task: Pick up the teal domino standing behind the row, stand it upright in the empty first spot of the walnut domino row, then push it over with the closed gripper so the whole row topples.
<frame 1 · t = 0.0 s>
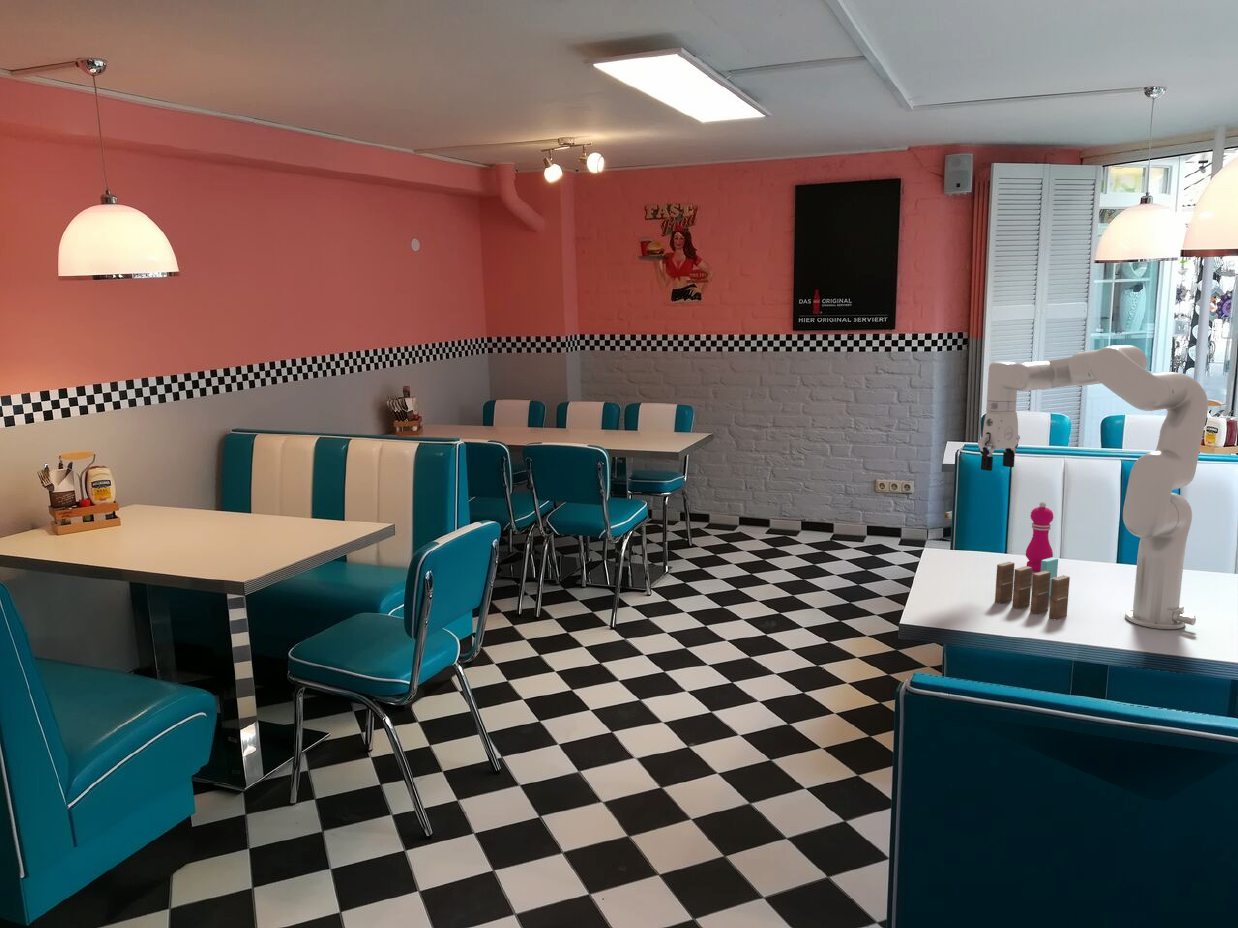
hand: (997, 468, 253), 31 cm above the table, tool pointing down, fingers open, 9 cm apart
domino 4: (1057, 616, 225), on the table
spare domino: (1047, 596, 241), on the table
domino 2: (1021, 606, 233), on the table
domino 1: (1003, 600, 237), on the table
domino 3: (1039, 611, 229), on the table
pepper mill: (1038, 569, 265), on the table
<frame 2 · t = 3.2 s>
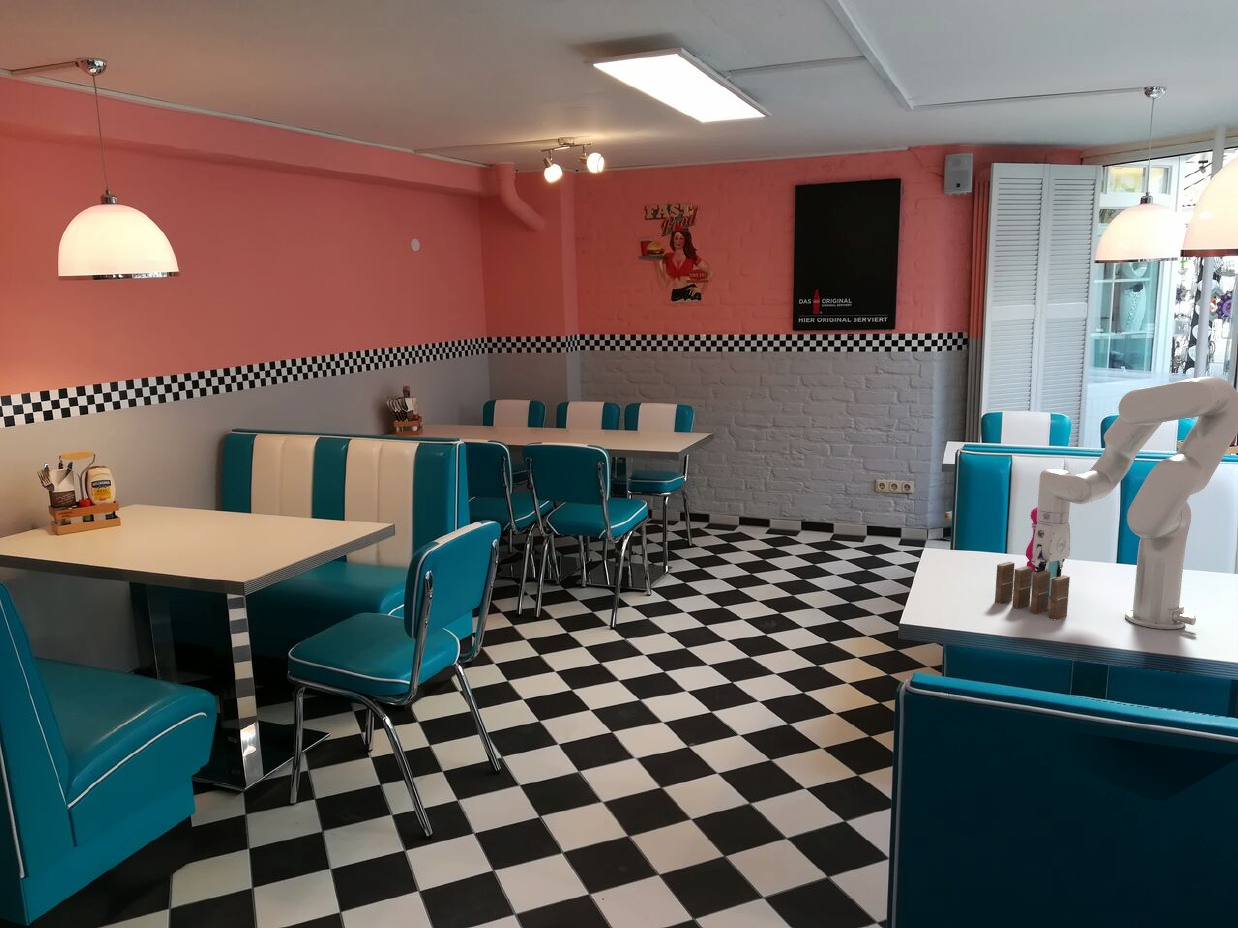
hand: (1047, 583, 240), 3 cm above the table, tool pointing down, fingers closed on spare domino, 4 cm apart
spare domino: (1047, 595, 241), on the table, touching gripper
everything else where it was.
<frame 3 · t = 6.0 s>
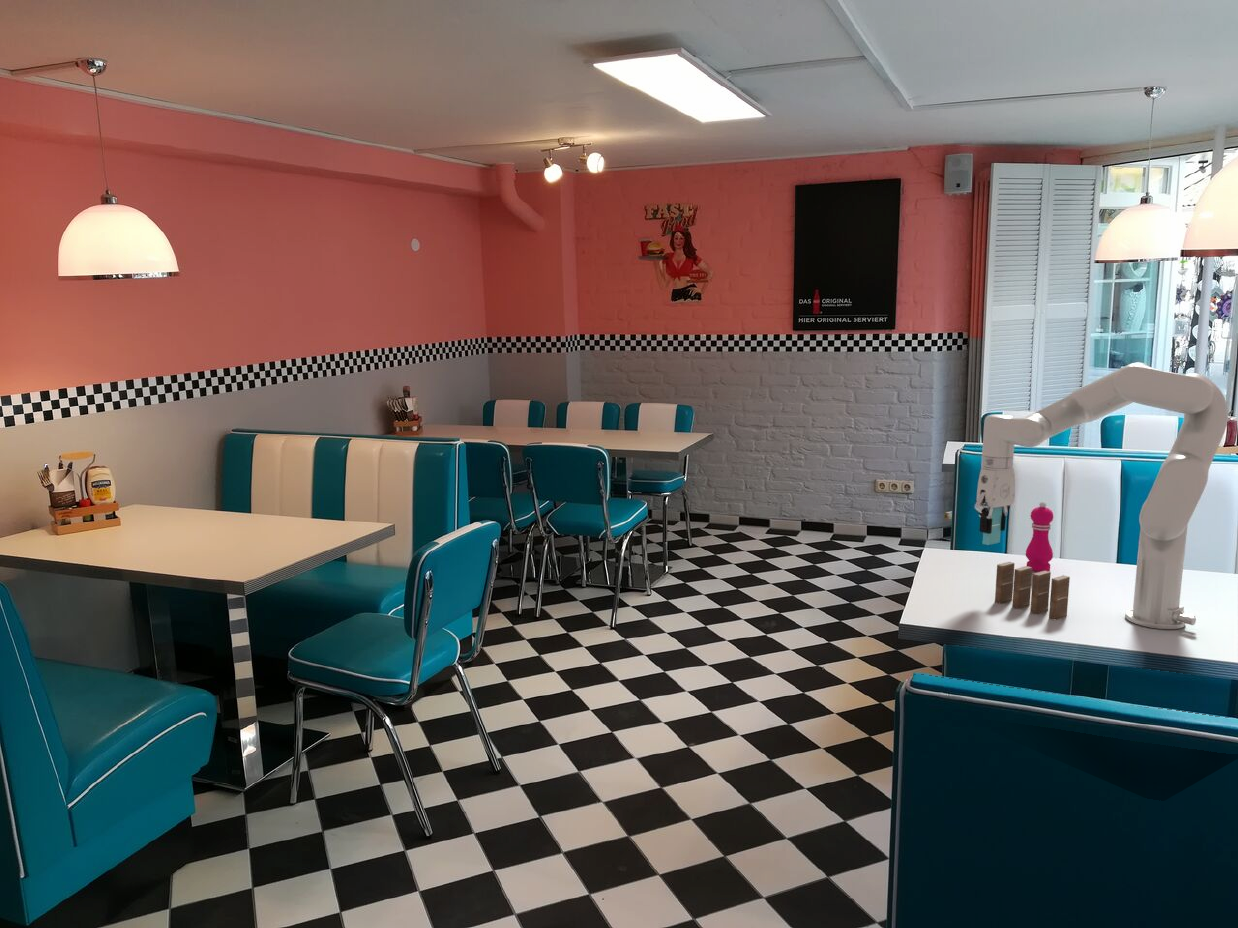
hand: (992, 530, 238), 18 cm above the table, tool pointing down, fingers closed on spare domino, 4 cm apart
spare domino: (991, 543, 239), point 14 cm above the table, touching gripper
everything else where it was.
when the fingers open (4 cm above the table, at t = 9.0 s): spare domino stays where it is, on the table.
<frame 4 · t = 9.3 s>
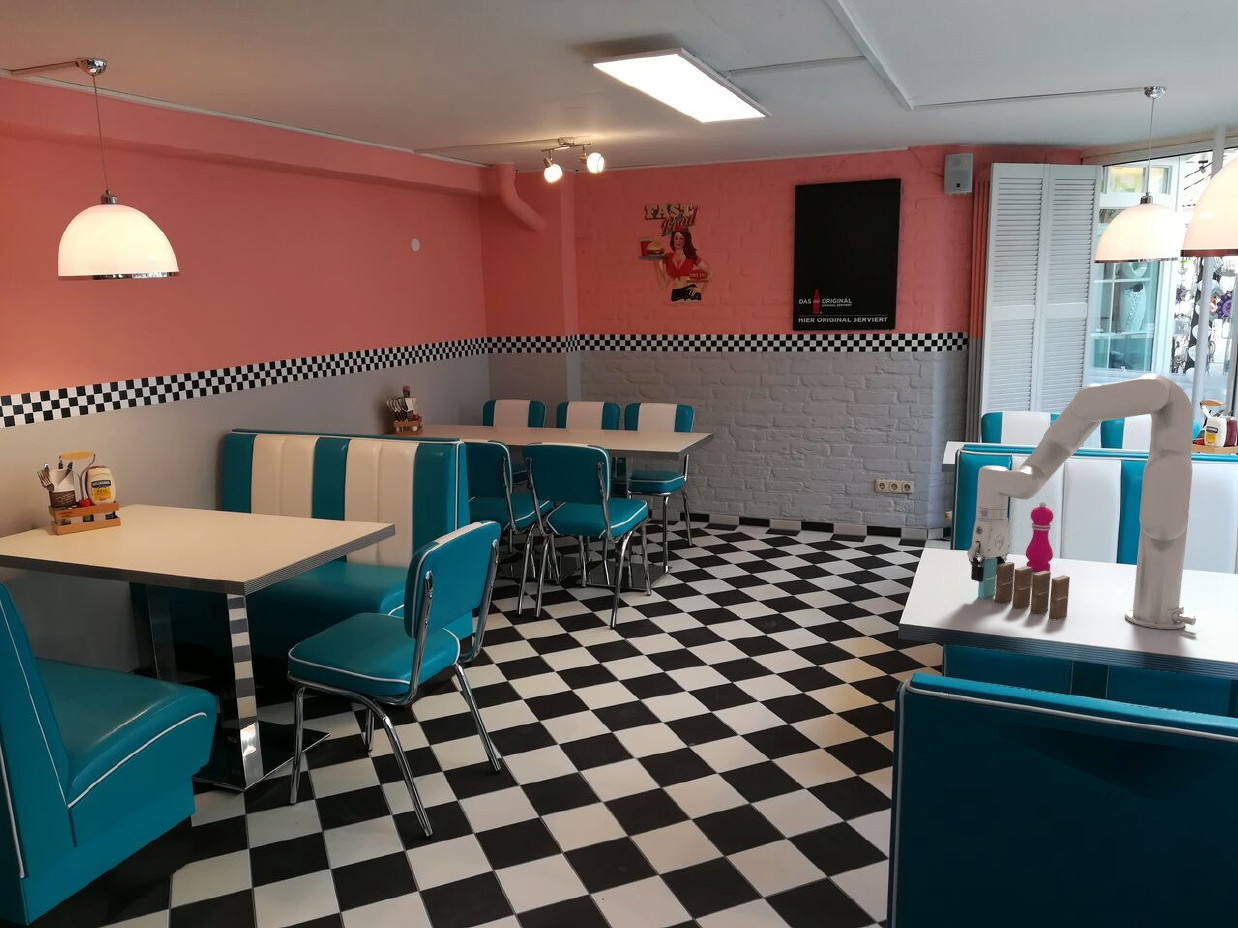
hand: (987, 577, 240), 5 cm above the table, tool pointing down, fingers open, 8 cm apart
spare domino: (986, 596, 241), on the table
everything else where it was.
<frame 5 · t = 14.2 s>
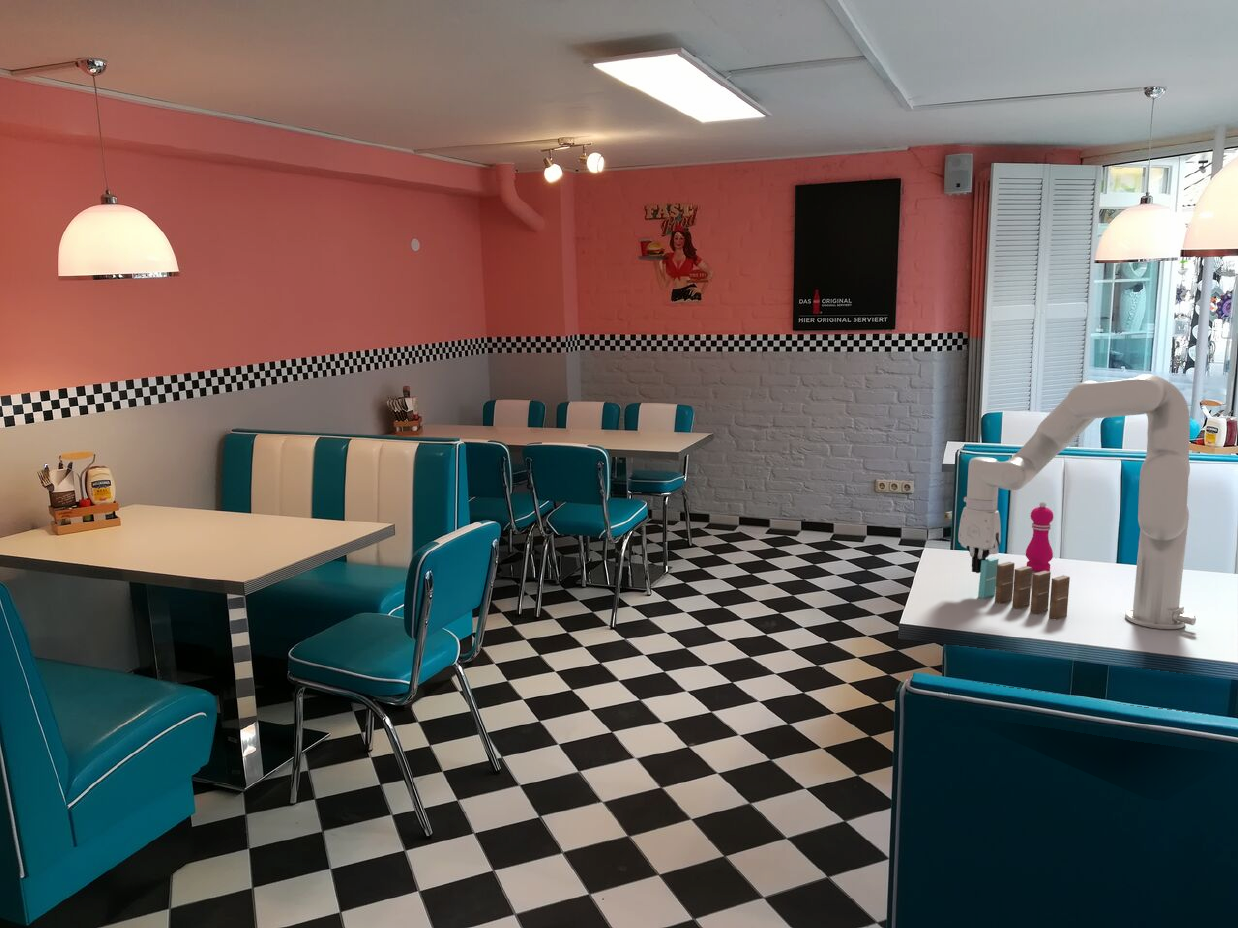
hand: (978, 571, 243), 6 cm above the table, tool pointing down, fingers closed
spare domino: (986, 595, 241), on the table, touching gripper
everything else where it was.
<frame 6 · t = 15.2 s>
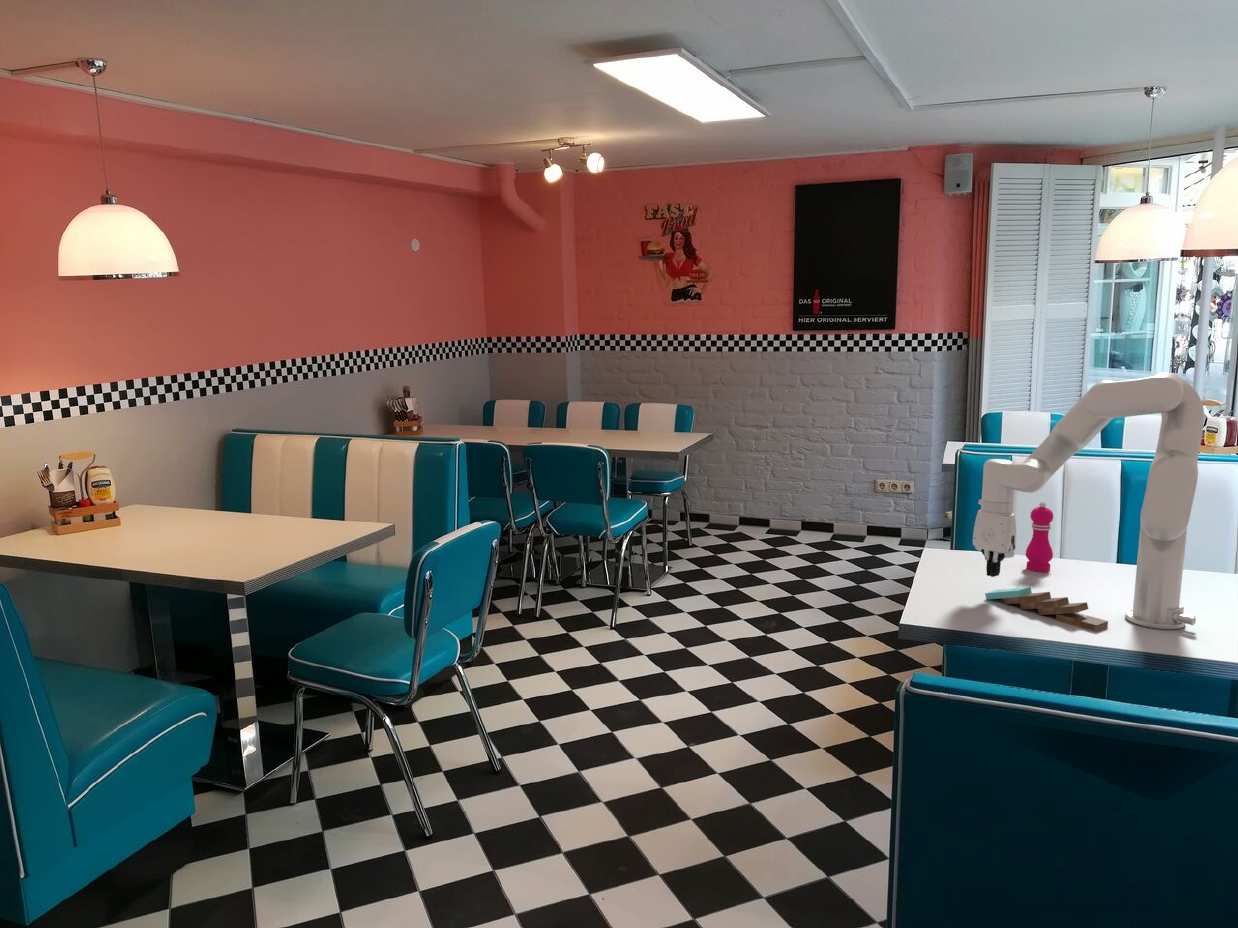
hand: (992, 575, 239), 6 cm above the table, tool pointing down, fingers closed
domino 4: (1061, 615, 224), point 1 cm above the table, tilted 90°
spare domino: (991, 594, 240), point 1 cm above the table, tilted 71°, touching domino 1
domino 2: (1026, 604, 232), point 1 cm above the table, tilted 71°, touching domino 1, domino 3
domino 1: (1009, 599, 236), point 1 cm above the table, tilted 71°, touching domino 2, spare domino
domino 3: (1044, 609, 228), point 1 cm above the table, tilted 71°, touching domino 2
everything else where it was.
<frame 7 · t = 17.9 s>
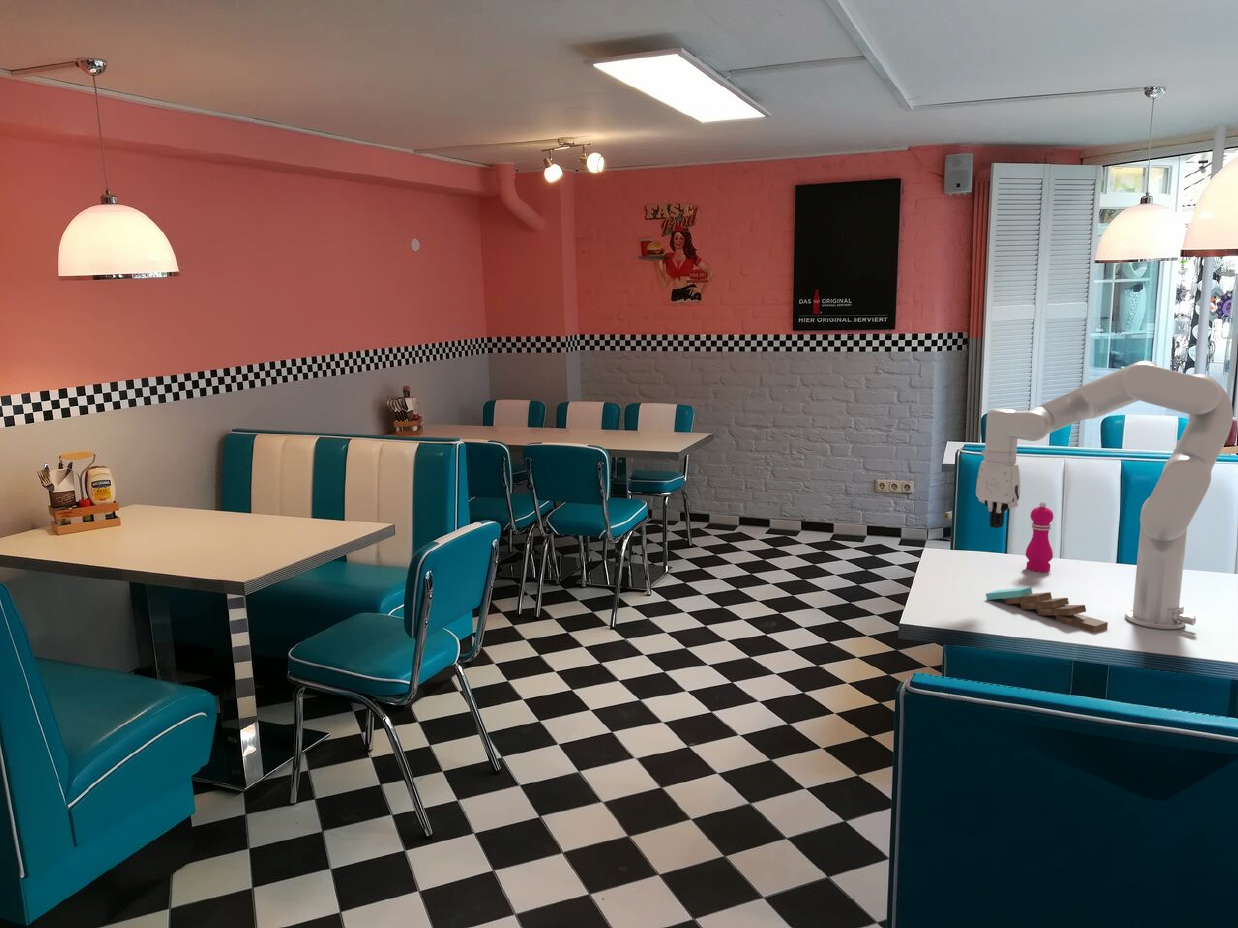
hand: (996, 526, 237), 19 cm above the table, tool pointing down, fingers closed
domino 4: (1062, 615, 223), point 1 cm above the table, tilted 89°, touching domino 3
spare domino: (992, 595, 240), point 1 cm above the table, tilted 71°
domino 1: (1011, 599, 236), point 1 cm above the table, tilted 70°, touching domino 2
domino 3: (1044, 610, 227), point 1 cm above the table, tilted 72°, touching domino 2, domino 4
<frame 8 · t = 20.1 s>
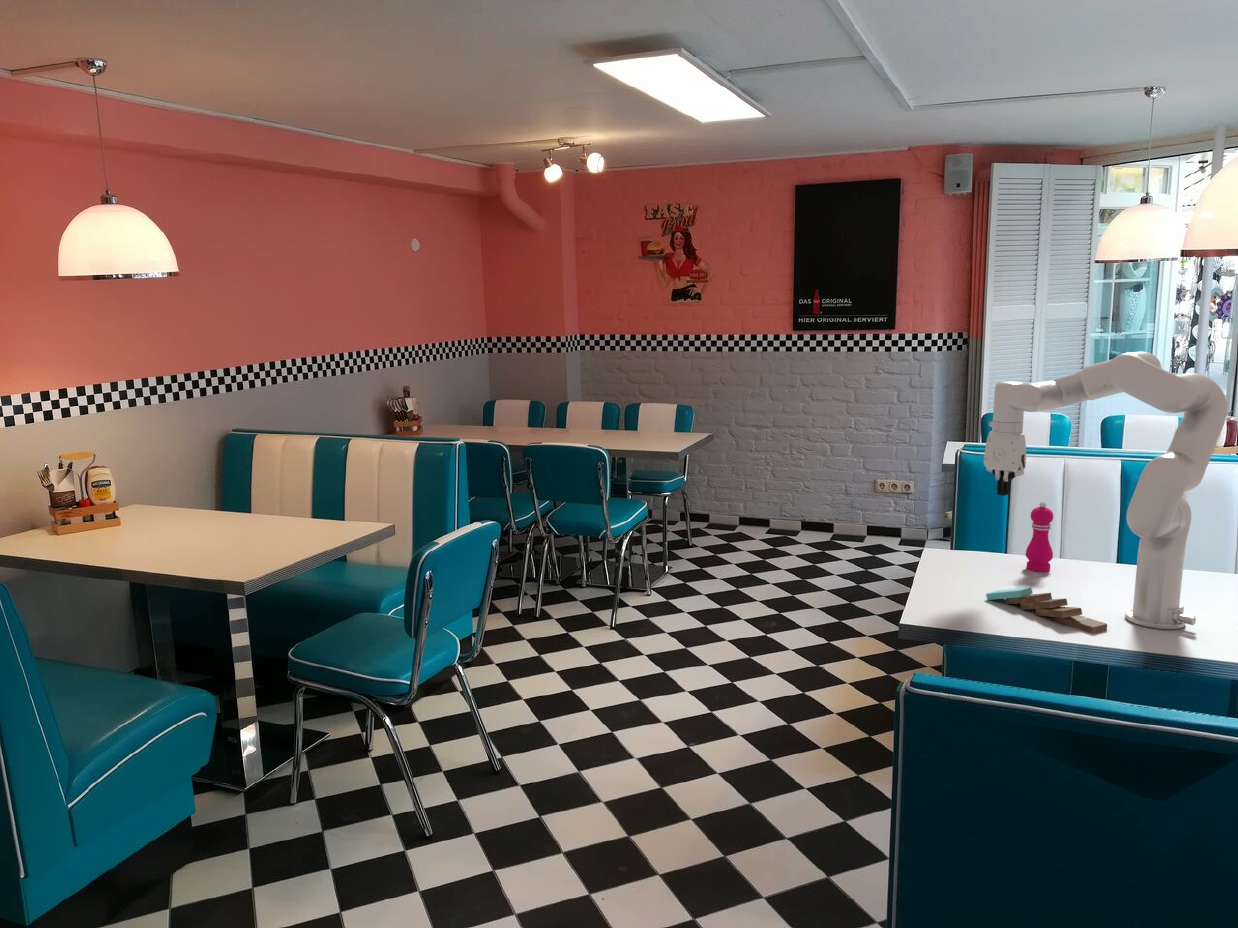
hand: (1003, 494, 248), 25 cm above the table, tool pointing down, fingers closed
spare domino: (992, 595, 240), point 1 cm above the table, tilted 70°, touching domino 1
domino 1: (1012, 599, 236), point 1 cm above the table, tilted 70°, touching domino 2, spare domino
at the end: domino 4 tilted 89°; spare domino tilted 71°; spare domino inside the target area (0.9 cm from its centre), point 0.7 cm above the table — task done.
